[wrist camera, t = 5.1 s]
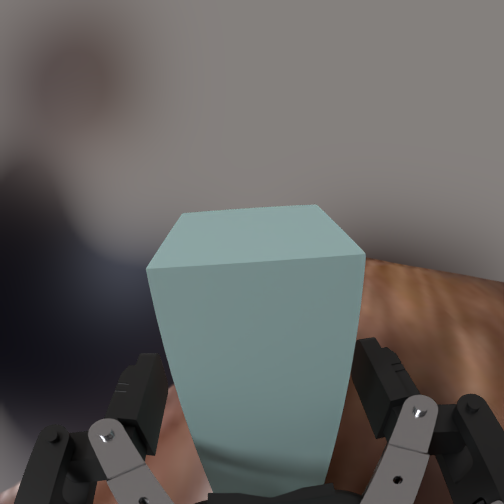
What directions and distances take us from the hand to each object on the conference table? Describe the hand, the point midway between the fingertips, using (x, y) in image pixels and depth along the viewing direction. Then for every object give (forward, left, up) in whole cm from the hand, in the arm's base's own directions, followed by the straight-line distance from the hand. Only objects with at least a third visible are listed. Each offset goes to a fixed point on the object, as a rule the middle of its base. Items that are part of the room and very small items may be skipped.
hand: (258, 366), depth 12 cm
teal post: (0, +1, -8) cm, 8 cm away
